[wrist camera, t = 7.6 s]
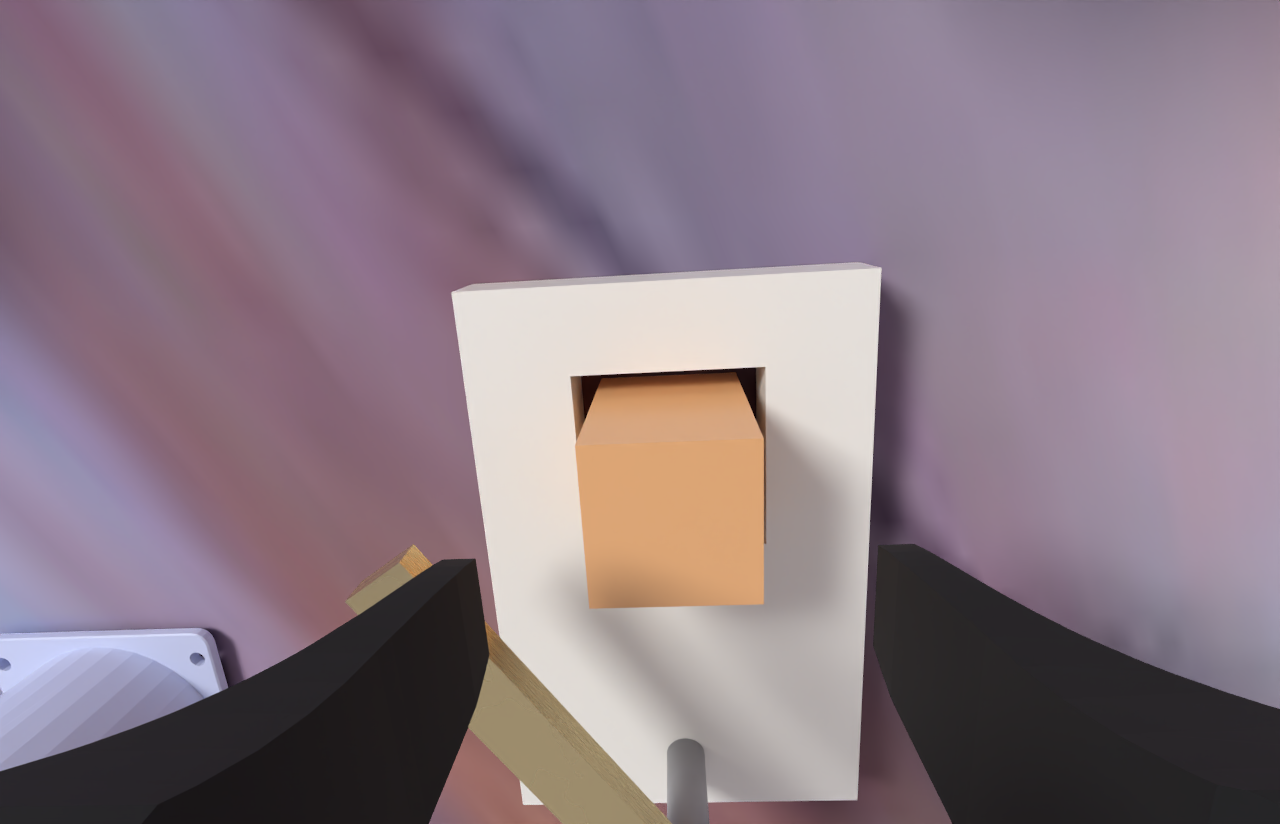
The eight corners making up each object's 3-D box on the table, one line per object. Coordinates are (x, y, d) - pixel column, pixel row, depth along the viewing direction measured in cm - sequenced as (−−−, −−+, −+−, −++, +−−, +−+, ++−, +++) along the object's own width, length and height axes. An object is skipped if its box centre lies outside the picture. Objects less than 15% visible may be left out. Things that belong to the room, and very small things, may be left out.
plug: (737, 495, 21) (763, 604, 15) (610, 500, 21) (589, 608, 15) (735, 371, 20) (763, 438, 14) (601, 378, 20) (574, 445, 14)
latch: (738, 890, 17) (742, 922, 16) (682, 919, 17) (683, 951, 17) (416, 541, 15) (402, 560, 14) (358, 583, 15) (341, 604, 14)
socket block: (841, 751, 23) (901, 935, 18) (534, 757, 24) (491, 936, 18) (859, 261, 19) (950, 286, 13) (472, 284, 19) (385, 316, 13)
